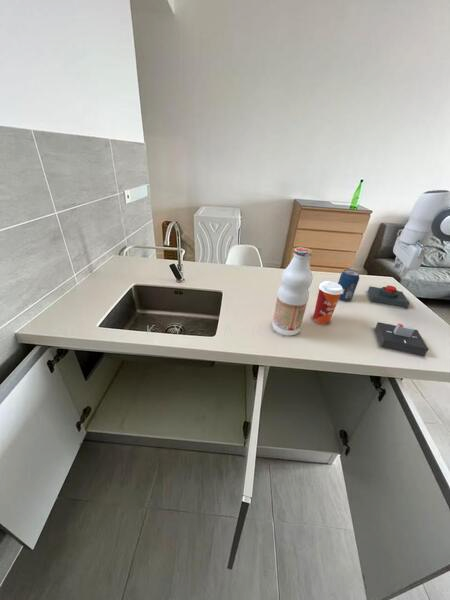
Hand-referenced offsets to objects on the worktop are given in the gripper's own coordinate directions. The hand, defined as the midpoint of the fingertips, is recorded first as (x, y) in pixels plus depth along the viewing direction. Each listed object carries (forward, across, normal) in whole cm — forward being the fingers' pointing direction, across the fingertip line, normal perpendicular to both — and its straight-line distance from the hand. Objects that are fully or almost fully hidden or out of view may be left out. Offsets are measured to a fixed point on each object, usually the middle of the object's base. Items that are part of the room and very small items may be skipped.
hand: (398, 271), depth 97 cm
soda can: (+13, -6, +18) cm, 23 cm away
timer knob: (+10, -30, +3) cm, 32 cm away
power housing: (+13, 0, 0) cm, 13 cm away
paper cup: (+13, -26, +27) cm, 40 cm away
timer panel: (+13, -30, +3) cm, 33 cm away
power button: (+9, 0, 0) cm, 9 cm away
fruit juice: (+13, -36, +39) cm, 55 cm away
